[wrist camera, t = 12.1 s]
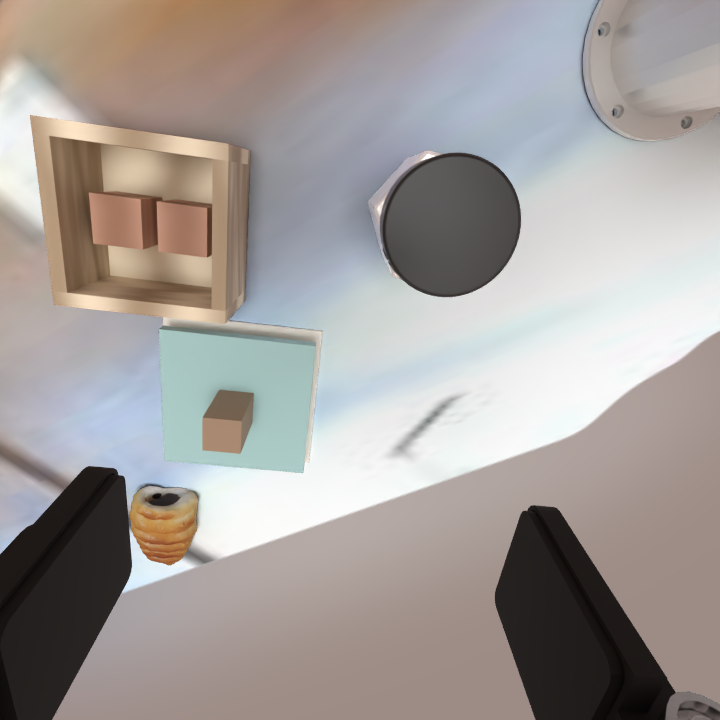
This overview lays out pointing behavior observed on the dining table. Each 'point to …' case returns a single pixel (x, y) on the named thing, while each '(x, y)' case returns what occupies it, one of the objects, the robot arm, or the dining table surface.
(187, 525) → the pastry
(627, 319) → the dining table surface
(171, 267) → the box
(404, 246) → the jar
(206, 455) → the lid
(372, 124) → the dining table surface
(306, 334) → the mat
